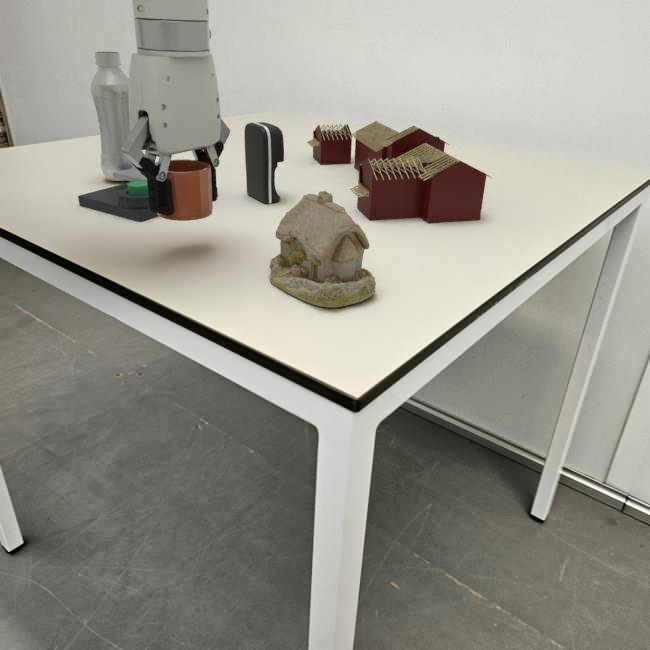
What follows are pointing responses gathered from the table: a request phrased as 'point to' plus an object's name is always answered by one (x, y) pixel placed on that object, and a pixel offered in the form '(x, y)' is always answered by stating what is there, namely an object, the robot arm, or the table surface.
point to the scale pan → (130, 175)
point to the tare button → (138, 188)
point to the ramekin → (190, 189)
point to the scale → (119, 203)
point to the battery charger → (263, 160)
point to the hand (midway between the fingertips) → (184, 204)
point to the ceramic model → (321, 254)
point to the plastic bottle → (111, 112)
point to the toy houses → (403, 173)
